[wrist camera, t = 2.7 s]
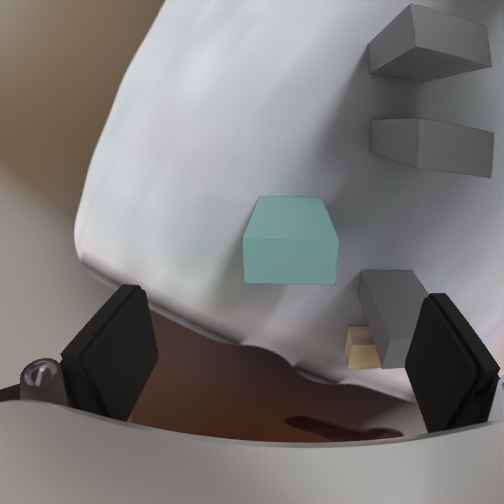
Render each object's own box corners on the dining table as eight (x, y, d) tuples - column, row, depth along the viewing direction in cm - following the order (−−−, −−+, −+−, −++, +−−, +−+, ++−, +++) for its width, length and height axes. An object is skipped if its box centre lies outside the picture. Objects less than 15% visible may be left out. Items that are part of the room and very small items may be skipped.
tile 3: (370, 120, 22) (419, 118, 13) (426, 126, 22) (493, 132, 12) (370, 151, 23) (417, 168, 14) (425, 156, 23) (490, 178, 13)
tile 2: (367, 44, 20) (410, 3, 10) (423, 53, 19) (486, 26, 10) (369, 73, 21) (416, 46, 11) (425, 82, 20) (491, 67, 11)
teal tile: (259, 196, 26) (242, 238, 16) (320, 196, 25) (339, 239, 16) (260, 226, 27) (244, 283, 17) (319, 227, 26) (335, 284, 17)
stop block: (404, 324, 29) (412, 342, 26) (397, 347, 30) (405, 365, 27) (348, 326, 29) (352, 345, 27) (344, 349, 31) (348, 369, 28)
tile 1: (361, 270, 27) (390, 339, 18) (411, 270, 26) (455, 334, 17) (358, 295, 28) (382, 369, 19) (406, 294, 27) (444, 363, 18)
